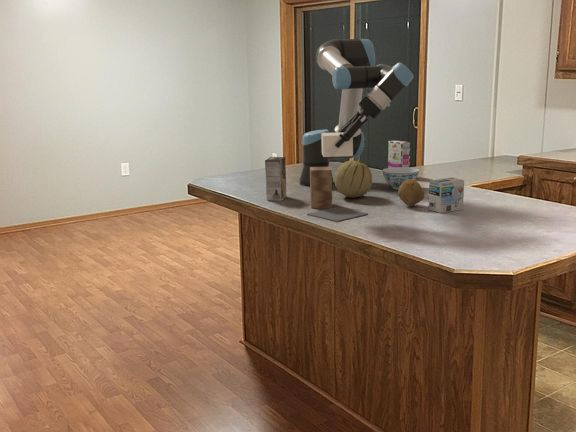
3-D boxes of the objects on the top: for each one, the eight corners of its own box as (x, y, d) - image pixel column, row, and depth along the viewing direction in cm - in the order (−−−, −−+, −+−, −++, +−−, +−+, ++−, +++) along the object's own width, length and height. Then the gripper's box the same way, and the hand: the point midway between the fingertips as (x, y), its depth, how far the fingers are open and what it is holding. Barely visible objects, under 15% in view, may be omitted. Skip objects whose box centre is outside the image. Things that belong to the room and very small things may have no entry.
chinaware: (408, 192, 248) (408, 174, 246) (375, 189, 257) (375, 171, 255) (424, 186, 260) (425, 168, 258) (392, 183, 269) (393, 166, 267)
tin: (330, 203, 233) (330, 166, 230) (332, 207, 226) (331, 169, 222) (310, 203, 233) (309, 167, 230) (311, 208, 226) (310, 170, 222)
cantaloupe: (326, 198, 242) (326, 160, 239) (349, 192, 253) (349, 156, 249) (357, 202, 232) (357, 163, 229) (379, 196, 243) (379, 158, 239)
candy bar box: (410, 177, 282) (410, 142, 278) (401, 178, 280) (401, 142, 276) (396, 174, 291) (396, 139, 288) (387, 175, 289) (387, 140, 286)
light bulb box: (440, 213, 212) (441, 182, 210) (427, 209, 218) (428, 180, 215) (464, 209, 217) (465, 179, 214) (450, 206, 223) (451, 176, 220)
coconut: (392, 205, 227) (392, 178, 225) (412, 202, 230) (413, 176, 228) (406, 209, 219) (407, 182, 217) (427, 206, 222) (427, 179, 220)
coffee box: (271, 195, 250) (270, 156, 246) (286, 196, 249) (285, 156, 245) (266, 200, 241) (264, 160, 238) (282, 200, 240) (280, 160, 236)
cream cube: (349, 152, 214) (349, 132, 213) (352, 156, 205) (352, 135, 203) (321, 153, 214) (321, 133, 213) (323, 156, 205) (323, 135, 203)
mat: (337, 208, 225) (337, 206, 225) (367, 214, 213) (367, 213, 213) (307, 214, 215) (307, 213, 215) (336, 222, 204) (336, 220, 204)
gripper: (387, 113, 195) (338, 163, 199) (377, 109, 217) (333, 154, 221) (371, 96, 194) (321, 148, 198) (362, 94, 216) (318, 140, 219)
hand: (327, 151), depth 209 cm, fingers closed on cream cube, 10 cm apart
